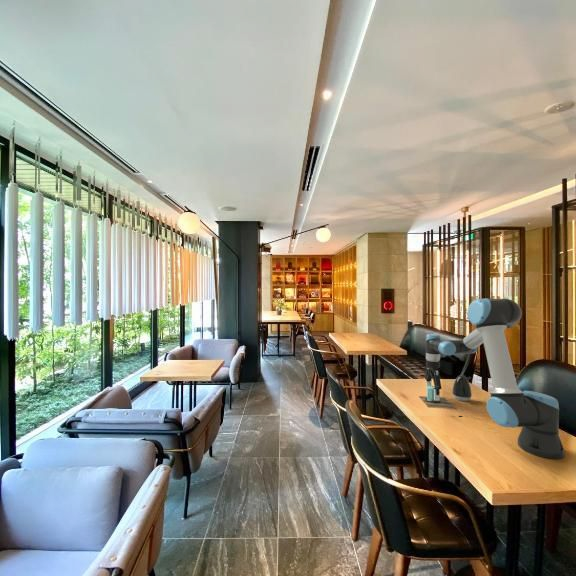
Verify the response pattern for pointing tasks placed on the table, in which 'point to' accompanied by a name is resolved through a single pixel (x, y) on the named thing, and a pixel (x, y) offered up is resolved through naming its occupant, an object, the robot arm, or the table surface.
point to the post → (431, 401)
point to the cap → (430, 393)
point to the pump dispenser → (462, 388)
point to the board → (442, 404)
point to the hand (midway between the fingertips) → (432, 396)
